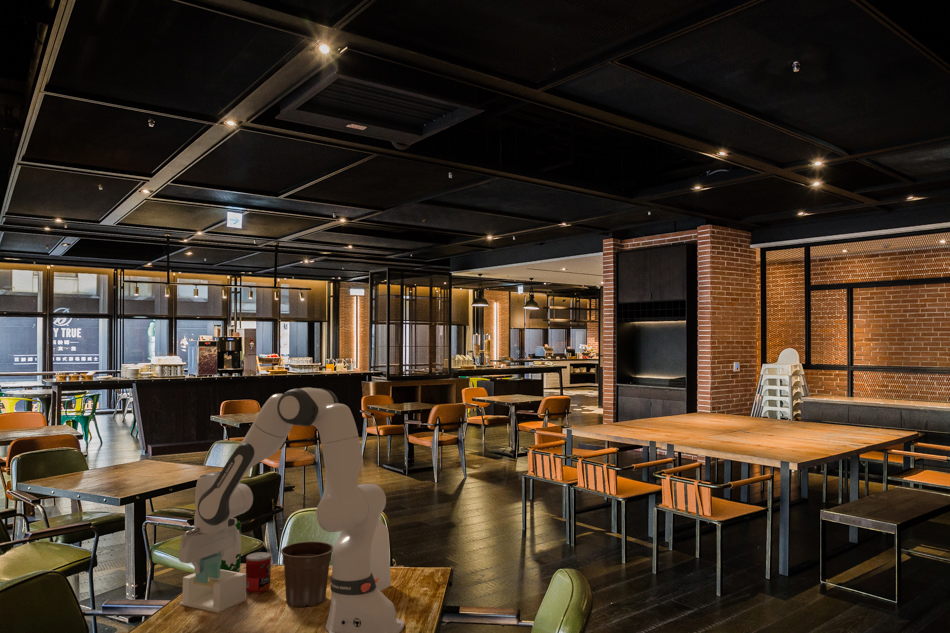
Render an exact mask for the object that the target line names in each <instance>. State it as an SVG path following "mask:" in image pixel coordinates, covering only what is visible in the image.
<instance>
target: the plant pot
mask: <svg viewBox="0 0 950 633" xmlns="http://www.w3.org/2000/svg"><path fill="white" fill-rule="evenodd" d="M333 548H334V545H332V544H330V543H328V542H324V541H303V542H302V541H300V542H294V543H291V544H288V545H285V546H284V547H282V548H281V550H280V554H281V555H282V564H283V567H284V568H283V569H284V584H285V602H286V603H287V605H289V606H292V607H295V608H304V607H305V606H309V607H313V606H317V605H320V604H321V603H323V602H324V601H325V600H326V598H327V588H328V579H329V570H330V563H331V561H332V556H333Z"/></svg>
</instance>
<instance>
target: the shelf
mask: <svg viewBox="0 0 950 633" xmlns="http://www.w3.org/2000/svg"><path fill="white" fill-rule="evenodd" d="M195 575H196V573H195V572H194V573H191V574H188V575H186V576H185V575H184V576H182V600H181V601H179V605H181V606H184V607H189V608H195V609H200V610H204V611H208V612H213V613H216V614H218V613H221V612H223V611H225V610H227V609H228V608H229V609H230V608H231V607H233V606H235V605H238V604H240V603H241V602H244V601H245V600H246V599H247V598H246V596H247V591H246V573H245V572H243V573H242V572H240V571H239V572H233V571H228V570H222V569H220V578H217V579H216V578H211V577H208V583H205V584H204V583H199V582H195Z"/></svg>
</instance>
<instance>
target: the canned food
mask: <svg viewBox="0 0 950 633" xmlns="http://www.w3.org/2000/svg"><path fill="white" fill-rule="evenodd" d="M271 563H272V554H271V553H269V552H264V551H261V552H260V551H259V552H252V553H250V554H248V555H246V557H245V574H246V593H249V594H260V593H261V594H262V593H264V592H267V591H269V589H270V588H271V574H272V573H271V570H272V567H271V566H272V564H271Z"/></svg>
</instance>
